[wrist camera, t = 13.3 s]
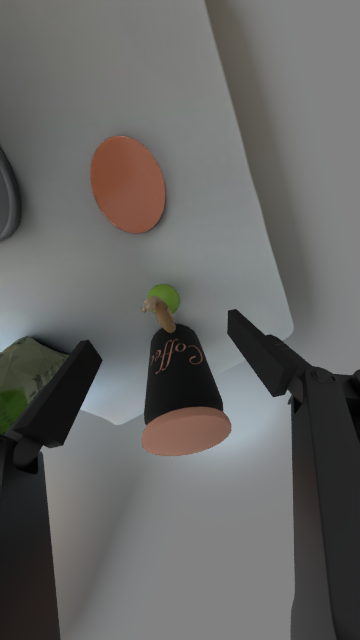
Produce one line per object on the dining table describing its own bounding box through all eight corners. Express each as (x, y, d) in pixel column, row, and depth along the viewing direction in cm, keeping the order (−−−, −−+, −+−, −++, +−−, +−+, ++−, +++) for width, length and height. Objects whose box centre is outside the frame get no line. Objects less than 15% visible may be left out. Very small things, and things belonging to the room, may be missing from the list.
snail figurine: (164, 269, 23) (167, 292, 13) (183, 299, 26) (197, 336, 16) (139, 286, 24) (122, 320, 13) (160, 312, 27) (159, 357, 17)
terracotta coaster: (77, 147, 15) (73, 142, 14) (155, 133, 15) (155, 128, 15) (111, 238, 20) (109, 238, 19) (171, 227, 20) (171, 226, 19)
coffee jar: (197, 318, 29) (239, 408, 13) (196, 354, 34) (226, 447, 19) (147, 324, 28) (130, 426, 12) (154, 360, 33) (149, 462, 18)
